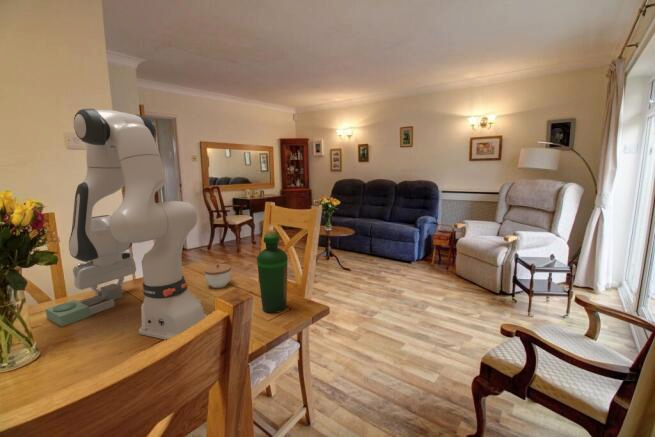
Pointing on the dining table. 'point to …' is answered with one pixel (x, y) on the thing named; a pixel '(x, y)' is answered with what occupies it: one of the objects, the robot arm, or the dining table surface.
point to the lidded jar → (218, 275)
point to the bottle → (272, 274)
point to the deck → (77, 310)
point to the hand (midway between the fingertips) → (109, 291)
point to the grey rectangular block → (111, 292)
